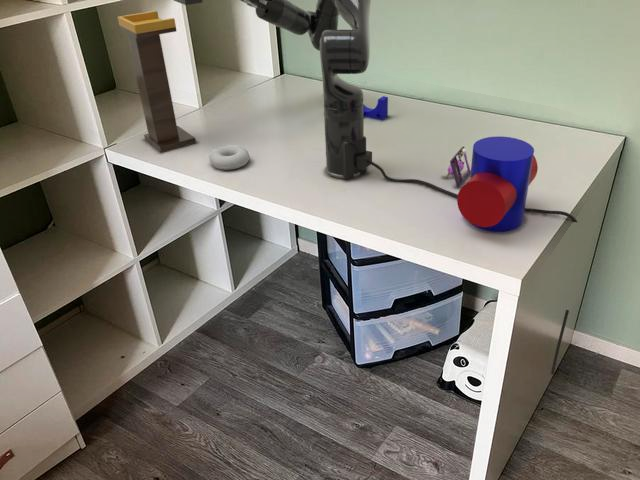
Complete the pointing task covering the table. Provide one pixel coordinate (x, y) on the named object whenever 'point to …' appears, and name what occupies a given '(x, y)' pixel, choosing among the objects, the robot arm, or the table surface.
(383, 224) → the table surface
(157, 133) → the walnut stand
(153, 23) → the mustard tray
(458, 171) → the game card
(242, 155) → the donut
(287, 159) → the table surface
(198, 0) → the toy hammer
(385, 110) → the blue curved block
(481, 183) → the blue red crossed cylinders
